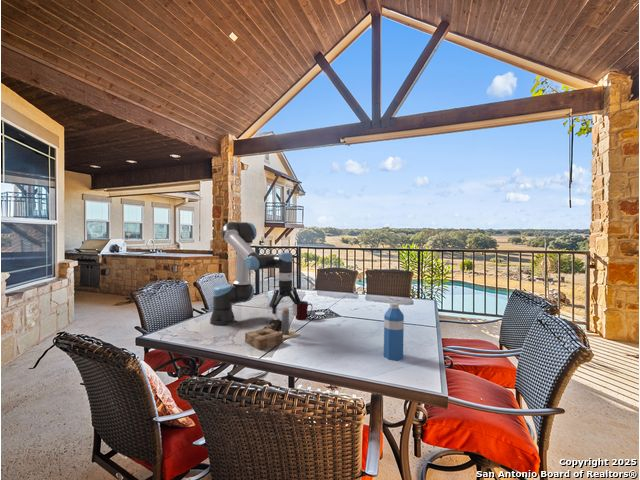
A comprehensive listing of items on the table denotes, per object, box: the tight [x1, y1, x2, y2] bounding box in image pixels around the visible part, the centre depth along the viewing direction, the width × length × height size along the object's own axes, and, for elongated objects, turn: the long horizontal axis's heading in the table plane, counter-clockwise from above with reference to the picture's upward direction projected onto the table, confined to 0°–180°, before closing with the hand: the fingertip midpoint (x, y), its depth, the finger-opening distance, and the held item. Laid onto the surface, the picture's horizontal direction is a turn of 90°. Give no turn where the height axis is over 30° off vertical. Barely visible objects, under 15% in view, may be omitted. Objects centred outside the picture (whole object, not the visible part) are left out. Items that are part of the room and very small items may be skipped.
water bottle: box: [383, 302, 405, 361], centre depth 141 cm, size 9×9×25 cm
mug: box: [295, 300, 313, 321], centre depth 203 cm, size 12×9×11 cm
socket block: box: [244, 327, 284, 351], centre depth 156 cm, size 14×14×5 cm
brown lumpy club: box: [262, 318, 282, 331], centre depth 176 cm, size 18×7×6 cm, turn 161°
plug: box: [281, 307, 290, 335], centre depth 169 cm, size 4×4×14 cm
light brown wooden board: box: [277, 329, 301, 341], centre depth 170 cm, size 12×12×1 cm
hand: (285, 317), depth 169 cm, fingers open, 13 cm apart
